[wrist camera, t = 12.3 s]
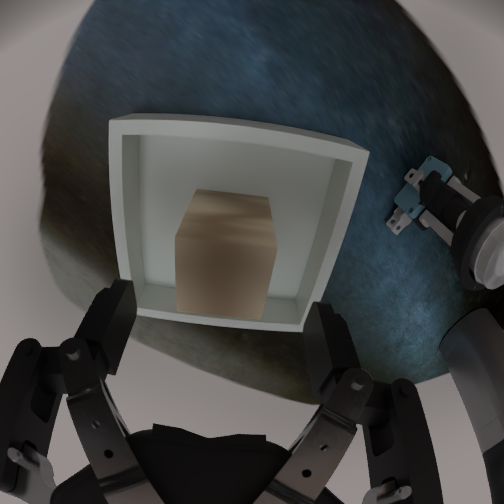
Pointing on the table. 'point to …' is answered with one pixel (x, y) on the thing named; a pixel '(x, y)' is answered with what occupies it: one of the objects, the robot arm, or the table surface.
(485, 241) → the push button
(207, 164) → the tray
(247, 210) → the pine block
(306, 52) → the table surface
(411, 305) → the table surface
